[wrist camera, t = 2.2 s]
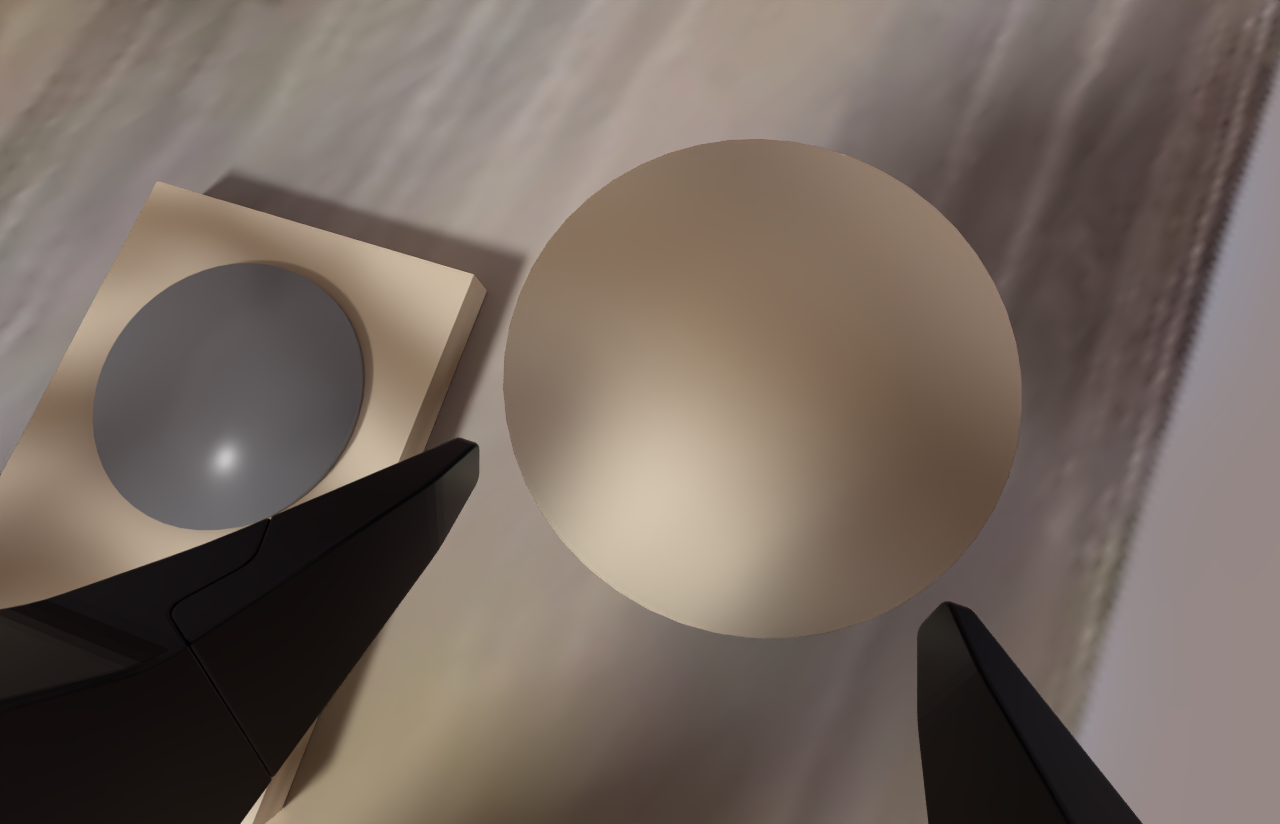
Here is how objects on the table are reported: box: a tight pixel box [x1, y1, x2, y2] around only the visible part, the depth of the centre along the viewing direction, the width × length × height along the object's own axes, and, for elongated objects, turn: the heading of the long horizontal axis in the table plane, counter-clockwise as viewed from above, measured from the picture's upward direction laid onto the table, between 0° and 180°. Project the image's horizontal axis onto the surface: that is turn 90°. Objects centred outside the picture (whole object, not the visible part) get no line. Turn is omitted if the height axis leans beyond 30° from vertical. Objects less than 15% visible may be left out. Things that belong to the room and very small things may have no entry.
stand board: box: [0, 181, 487, 824], centre depth 19 cm, size 20×14×2 cm
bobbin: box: [503, 139, 1022, 638], centre depth 13 cm, size 8×8×13 cm
